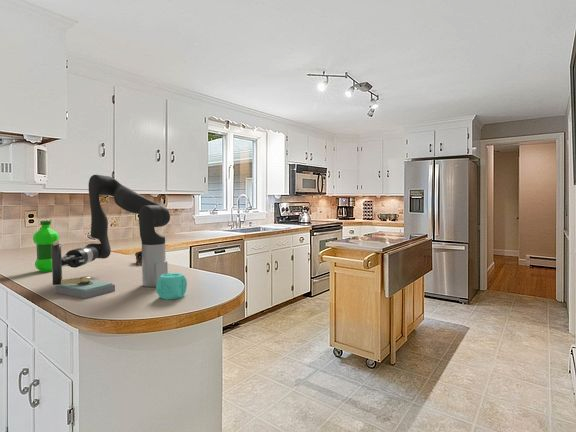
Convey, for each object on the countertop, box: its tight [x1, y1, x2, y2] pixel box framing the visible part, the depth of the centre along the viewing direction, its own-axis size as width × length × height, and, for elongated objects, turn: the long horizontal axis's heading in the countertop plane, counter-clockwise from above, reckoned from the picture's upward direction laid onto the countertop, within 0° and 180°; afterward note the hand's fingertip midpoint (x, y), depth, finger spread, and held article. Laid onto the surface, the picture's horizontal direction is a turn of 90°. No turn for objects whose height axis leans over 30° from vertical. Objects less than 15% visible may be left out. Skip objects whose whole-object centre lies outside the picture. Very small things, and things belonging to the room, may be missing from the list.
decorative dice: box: [155, 272, 188, 301], centre depth 127 cm, size 8×8×8 cm
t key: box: [51, 240, 92, 286], centre depth 131 cm, size 12×6×16 cm, turn 116°
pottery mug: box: [134, 250, 142, 266], centre depth 193 cm, size 12×10×8 cm
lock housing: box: [54, 279, 116, 299], centre depth 133 cm, size 18×12×3 cm, turn 63°
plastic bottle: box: [32, 220, 60, 273], centre depth 172 cm, size 10×10×25 cm
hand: (54, 264), depth 130 cm, fingers closed
